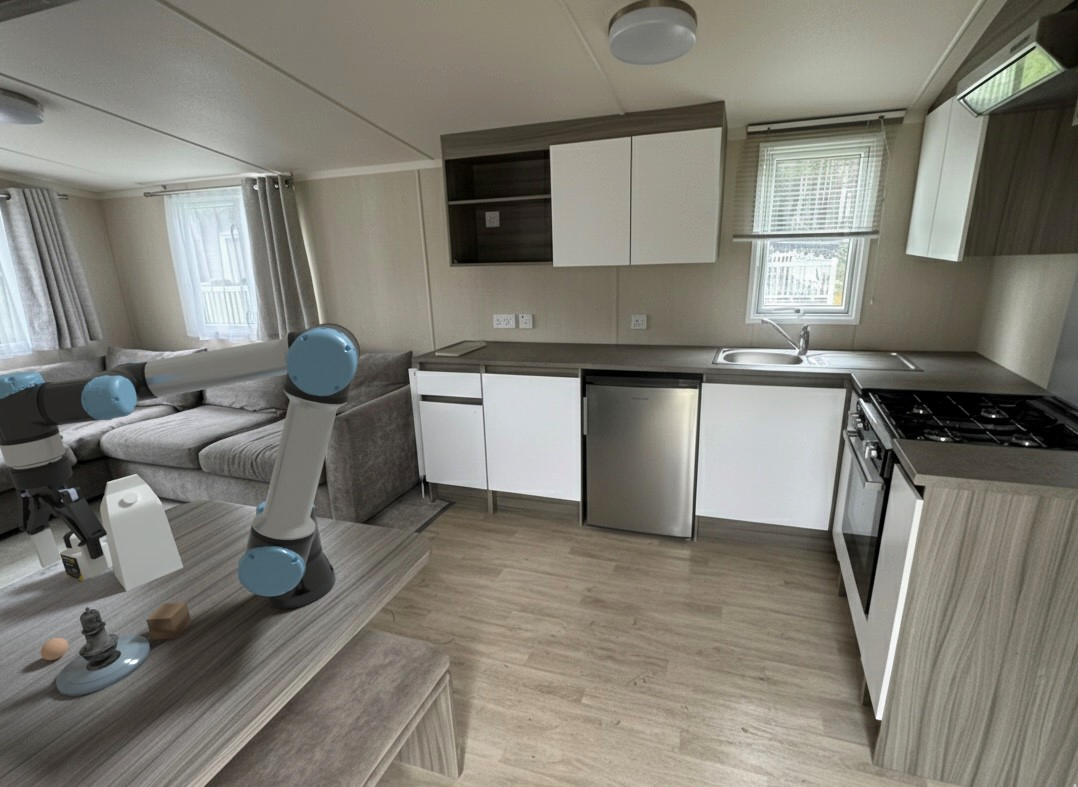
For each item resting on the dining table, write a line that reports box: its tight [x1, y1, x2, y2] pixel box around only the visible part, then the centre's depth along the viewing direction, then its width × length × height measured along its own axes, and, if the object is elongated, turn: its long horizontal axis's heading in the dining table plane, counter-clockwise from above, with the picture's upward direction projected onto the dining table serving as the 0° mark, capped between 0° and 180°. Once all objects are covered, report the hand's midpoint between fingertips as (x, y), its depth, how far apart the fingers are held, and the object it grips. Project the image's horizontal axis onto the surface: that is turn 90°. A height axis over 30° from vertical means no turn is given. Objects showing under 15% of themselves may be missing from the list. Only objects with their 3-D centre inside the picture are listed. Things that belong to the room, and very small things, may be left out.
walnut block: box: [145, 602, 192, 641], centre depth 107 cm, size 5×5×5 cm
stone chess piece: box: [78, 606, 121, 671], centre depth 97 cm, size 6×6×12 cm
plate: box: [55, 634, 151, 697], centre depth 99 cm, size 14×14×1 cm
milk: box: [99, 473, 184, 592], centre depth 128 cm, size 12×12×26 cm
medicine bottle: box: [59, 530, 113, 582], centre depth 131 cm, size 7×7×12 cm
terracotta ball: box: [40, 637, 69, 661], centre depth 101 cm, size 4×4×4 cm
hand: (74, 568), depth 93 cm, fingers open, 13 cm apart
